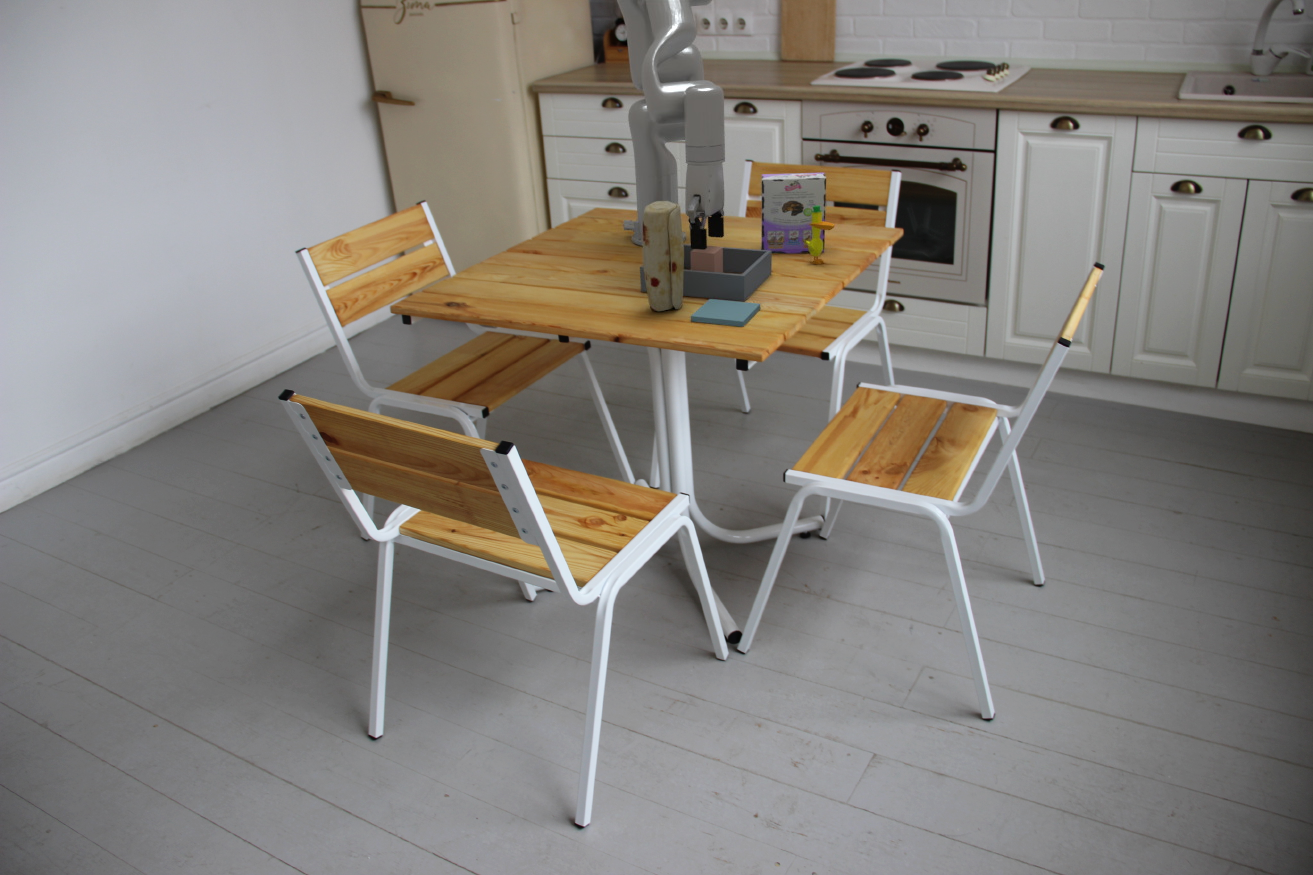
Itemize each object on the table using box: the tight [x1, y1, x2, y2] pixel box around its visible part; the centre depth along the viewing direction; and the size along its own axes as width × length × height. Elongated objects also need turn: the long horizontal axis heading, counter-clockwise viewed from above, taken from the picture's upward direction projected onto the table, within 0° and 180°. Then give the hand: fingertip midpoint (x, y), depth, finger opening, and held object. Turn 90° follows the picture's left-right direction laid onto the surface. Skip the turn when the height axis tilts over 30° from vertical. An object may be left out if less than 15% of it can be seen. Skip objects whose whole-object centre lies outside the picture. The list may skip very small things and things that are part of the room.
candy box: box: [760, 172, 827, 254], centre depth 211 cm, size 14×6×16 cm, turn 84°
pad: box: [690, 298, 761, 328], centre depth 179 cm, size 10×10×1 cm
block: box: [690, 245, 724, 273], centre depth 195 cm, size 5×5×7 cm
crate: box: [639, 243, 773, 302], centre depth 196 cm, size 22×18×5 cm
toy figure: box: [806, 206, 836, 265], centre depth 203 cm, size 7×4×12 cm, turn 49°
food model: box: [642, 201, 685, 312], centre depth 180 cm, size 10×7×20 cm
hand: (707, 243), depth 192 cm, fingers open, 9 cm apart
